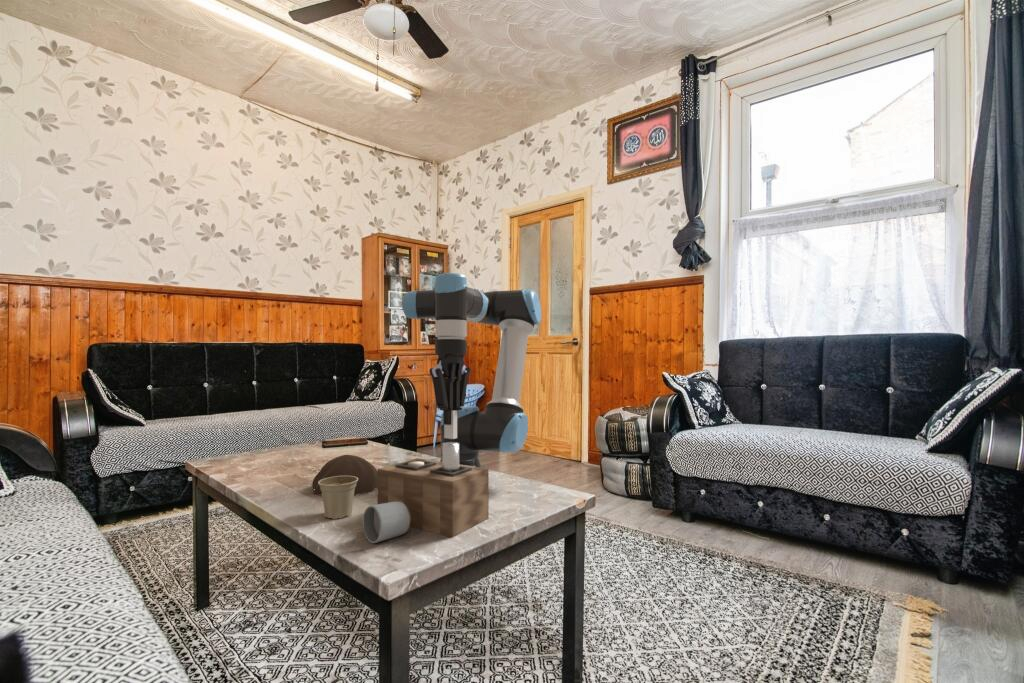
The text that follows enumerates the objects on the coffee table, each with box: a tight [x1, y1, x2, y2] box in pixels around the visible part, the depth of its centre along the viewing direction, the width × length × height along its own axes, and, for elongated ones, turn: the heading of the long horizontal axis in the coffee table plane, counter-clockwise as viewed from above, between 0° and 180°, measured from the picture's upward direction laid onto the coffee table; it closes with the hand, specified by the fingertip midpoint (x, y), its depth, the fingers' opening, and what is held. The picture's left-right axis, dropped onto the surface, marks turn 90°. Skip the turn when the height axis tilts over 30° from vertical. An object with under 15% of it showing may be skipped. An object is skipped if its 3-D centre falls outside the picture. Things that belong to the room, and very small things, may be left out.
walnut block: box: [377, 457, 490, 538], centre depth 117 cm, size 14×23×13 cm, turn 59°
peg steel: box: [442, 442, 459, 473], centre depth 114 cm, size 4×4×11 cm
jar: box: [459, 455, 475, 467], centre depth 129 cm, size 9×8×12 cm
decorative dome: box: [311, 454, 378, 496], centre depth 144 cm, size 19×20×10 cm
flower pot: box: [318, 476, 358, 520], centre depth 119 cm, size 9×9×9 cm
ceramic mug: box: [362, 502, 411, 544], centre depth 106 cm, size 11×8×8 cm
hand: (450, 437), depth 114 cm, fingers closed
